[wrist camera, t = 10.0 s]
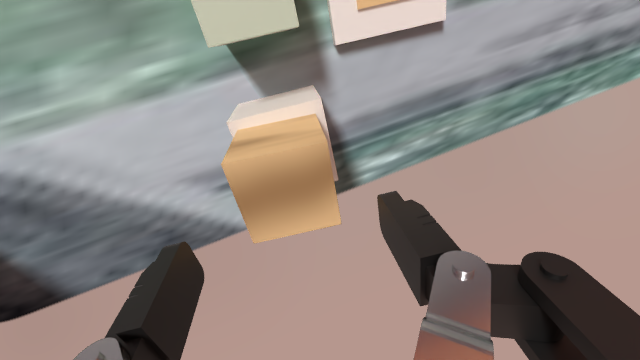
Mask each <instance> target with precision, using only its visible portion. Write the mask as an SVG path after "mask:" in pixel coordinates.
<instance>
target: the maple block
mask: <svg viewBox="0 0 640 360" xmlns="http://www.w3.org/2000/svg"><path fill="white" fill-rule="evenodd" d="M221 165H222V168H223V170H224V173H225V175H226V177H227V180H228V182H229V185H230V187H231V190H232V192H233V194H234V197H235V199H236V202H237V204H238V207H239V209H240V211H241V214H242V216H243V219H244V221H245V224H246V226H247V229H248V231H249V233H250V236H251V238H252V241H253V243H258V242H263V241H268V240H272V239H277V238H281V237H285V236H290V235H295V234H299V233H303V232H308V231H313V230H317V229H322V228H326V227H331V226H335V225H340V224H341V218H340V213H339V207H338V201H337V195H336V189H335V183H334V178H333V172H332V166H331V160H330V154H329V148H328V143H327V140H326V137H325V135H324V133H323V130H322V128H321V126H320V123H319V121H318V118H317V116H316V114H311V115H306V116H301V117H296V118H292V119H287V120H282V121H277V122H273V123H268V124H263V125H259V126H254V127H249V128H244V129H240V130H237V132H236V134H235V136H234V138H233V140H232V142H231V144H230V147H229V149H228V151H227V153H226V155H225V157H224V159H223V161H222V164H221Z"/></svg>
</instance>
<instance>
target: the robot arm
mask: <svg viewBox="0 0 640 360" xmlns="http://www.w3.org/2000/svg"><path fill="white" fill-rule="evenodd" d="M377 199H378V209H379V220H380V227H381V231H382V234H383V237H384V239H385V240H386V243H387V245H388V246H389V248H390V250H391V252H392V254H393V256H394V258H395V260H396V262H397V263H398V265H399V267H400V269H401V271H402V273H403V275H404V277H405V279H406V280H407V282H408V284H409V286H410V288H411V290H412V291H413V293H414V295H415V297H416V299H417V301H418V303H419V305H420V306H424V305H428V309H427V313H426V317H424V318H423V321H422V324H421V329H420V333H419V337H418V342H417V346H416V351H415V356H414V360H494V351H493V350H494V349H493V342H492V340H491V338H490V337H500V338H511V339H515V341H516V342H517V344H518V345H519V346H520V348H521V349H522V350H523V352H524V353H525V355H526V356H527V357H528V359H529V360H640V316H639V315H638V314H637V313H636V312H634V311H633V310H632V309H631V308H629V307H628V306H627V305H626V304H625V303H623V302H622V301H621V300H620V299H618V298H617V297H616V296H615V295H614V294H612V293H611V292H610V291H609V290H608V289H606V288H605V287H604V286H603V285H601V284H600V283H599V282H598V281H597V280H595V279H594V278H593V277H592V276H591V275H589V274H588V273H587V272H585V271H584V270H583V269H582V268H581V267H580V266H578V265H577V264H576V263H574V262H572V261H571V260H569V259H567V258H565V257H562V256H560V255H556V254H553V253H548V252H533V253H529V254H527V255H526V256H524V258H523V259H522V262H521V265H502V264H501V265H500V264H488V263H485V261H483V260H482V259H481V258H479V257H478V256H476V255H474V254H472V253H469V252H465V251H461V249H460V248H459V247H458V246H457V245H456V244H455V243H454V241H453V240H452V239H451V238H450V237H449V235H448V234H447V233H446V232H445V231H444V230H443V229H442V227H441V226H440V225H439V224H438V223H436V220H435V219H434V218H433V217H432V216H430V213H429V212H428V211H427V210H426V209H425V208H424V207H423V206H422V205H421V204H419V203H417V202H415V201H413V200H408V201H404V200H403V199H402V197H401V196H400V195H399V194H398V193H397V191H394V192H389V193H385V194H381V195H378V197H377ZM203 283H204V271H203V268H202V266H201V264H200V263H199V261H198V260H197V258H196V256H195V255H194V253H193V251H192V250H191V248H190V246H189V245H188V244H187V243H186V242H181V243H177V244H173V245H168V246H165V247H163V248H162V250H161V252H160V254H159V255H158V257H157V259H156V261H155V262H153V263H152V264H151V265H150V266H149V267H148V268H147V269H146V270H145V271H144V272H143V273H142V274H141V276H140V278H139V279H138V281H137V283H136V284H135V288H134V289H133V290H132V291H131V293H130V295H129V299H127V300H126V302H125V303H124V305H123V307H122V309H121V310H120V312H119V314H118V316H117V317H116V319H115V321H114V323H113V324H112V326H111V328H110V329H109V331H108V333H107V335H106V337H105V338H104V339H101V340H99V341H96V342H95V343H93V344H91V345H90V346H88V347H87V348H85V349H84V350H83V351H82V352H81V353H79V354H78V356H76V357H75V358H74V360H180V359H181V355H182V352H183V349H184V346H185V343H186V339H187V336H188V332H189V329H190V326H191V323H192V319H193V316H194V313H195V309H196V306H197V303H198V299H199V296H200V293H201V290H202V286H203Z"/></svg>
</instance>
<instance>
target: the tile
mask: <svg viewBox="0 0 640 360" xmlns="http://www.w3.org/2000/svg"><path fill="white" fill-rule="evenodd" d="M327 4H328V11H329V17H330V24H331V30H332V37H333V43H334V45H339V44H343V43H348V42H352V41H356V40H361V39H365V38H369V37H374V36H378V35H382V34H386V33H391V32H395V31H399V30H404V29H408V28H412V27H417V26H421V25H425V24H430V23H434V22H438V21H442V20H445V19H446V0H327Z"/></svg>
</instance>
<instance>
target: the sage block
mask: <svg viewBox="0 0 640 360" xmlns="http://www.w3.org/2000/svg"><path fill="white" fill-rule="evenodd" d="M191 2H192V5H193V7H194V10H195V13H196V15H197V18H198V21H199V23H200V26H201V29H202V31H203V34H204V37H205V39H206V42H207V45H208V47H215V46H221V45H227V44H231V43H235V42H240V41H244V40H248V39H252V38H257V37H261V36H265V35H269V34H274V33H278V32H282V31H286V30H291V29H295V28H297V27H299V22H298V18H297V13H296V8H295V3H294V0H191Z"/></svg>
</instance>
